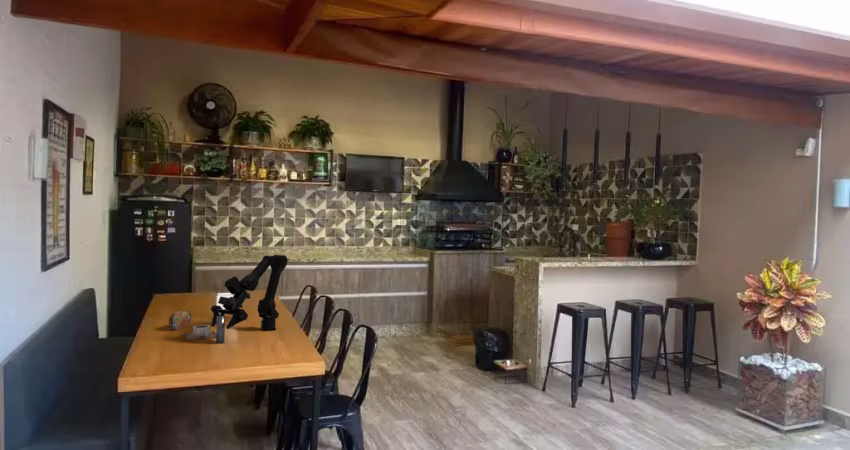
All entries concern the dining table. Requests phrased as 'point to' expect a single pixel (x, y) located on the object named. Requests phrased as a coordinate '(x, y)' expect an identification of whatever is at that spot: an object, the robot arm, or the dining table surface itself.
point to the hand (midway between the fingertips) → (219, 327)
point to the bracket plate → (190, 337)
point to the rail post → (220, 329)
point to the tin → (179, 320)
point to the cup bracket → (201, 330)
